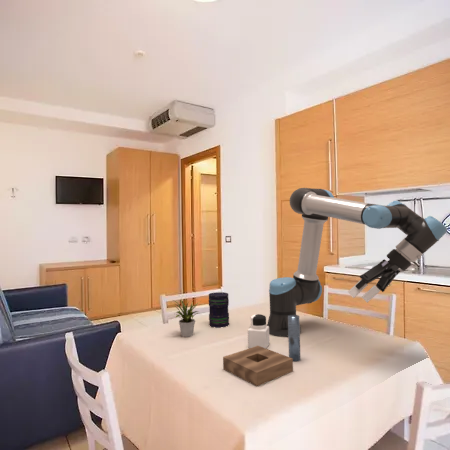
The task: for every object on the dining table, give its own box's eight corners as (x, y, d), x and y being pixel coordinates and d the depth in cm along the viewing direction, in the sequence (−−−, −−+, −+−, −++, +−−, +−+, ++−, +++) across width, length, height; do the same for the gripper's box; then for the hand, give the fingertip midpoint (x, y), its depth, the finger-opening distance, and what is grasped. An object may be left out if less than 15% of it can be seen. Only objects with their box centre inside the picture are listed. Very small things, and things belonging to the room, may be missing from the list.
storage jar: (217, 321, 167) (216, 291, 167) (233, 323, 161) (232, 293, 161) (204, 325, 159) (204, 294, 159) (221, 329, 153) (220, 296, 153)
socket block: (223, 369, 108) (223, 356, 109) (258, 356, 118) (258, 345, 118) (256, 386, 96) (256, 372, 96) (293, 371, 106) (292, 358, 106)
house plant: (161, 338, 142) (160, 300, 142) (178, 329, 155) (177, 294, 155) (191, 341, 136) (190, 302, 137) (205, 331, 149) (204, 295, 150)
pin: (286, 359, 116) (285, 316, 116) (294, 356, 118) (292, 314, 118) (295, 362, 113) (294, 318, 113) (302, 359, 115) (301, 316, 115)
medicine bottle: (269, 343, 132) (268, 313, 132) (266, 349, 125) (265, 318, 125) (252, 342, 134) (251, 312, 134) (247, 348, 127) (247, 317, 128)
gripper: (402, 255, 101) (352, 301, 107) (420, 270, 119) (376, 309, 124) (384, 239, 106) (336, 284, 112) (404, 256, 124) (362, 294, 129)
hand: (357, 297), depth 118 cm, fingers open, 13 cm apart
